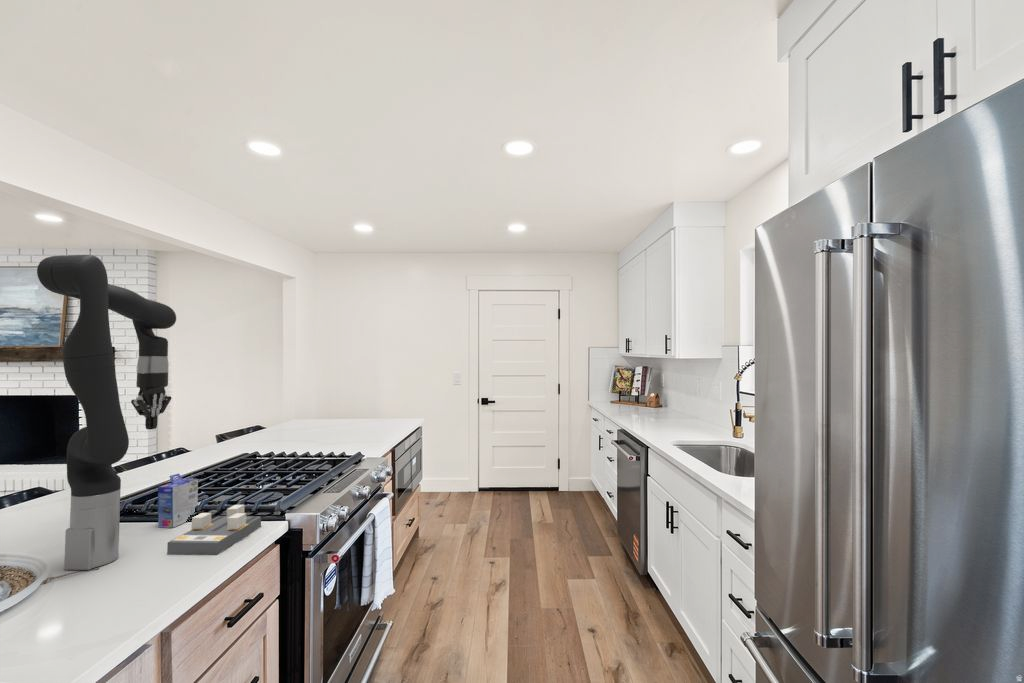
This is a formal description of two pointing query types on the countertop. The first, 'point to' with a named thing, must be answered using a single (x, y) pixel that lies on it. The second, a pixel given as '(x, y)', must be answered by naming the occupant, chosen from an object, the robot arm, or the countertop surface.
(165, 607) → the countertop surface
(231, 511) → the middle tab
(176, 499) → the ink cartridge box
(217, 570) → the countertop surface
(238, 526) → the tab
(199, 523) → the tab
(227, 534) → the switch board
